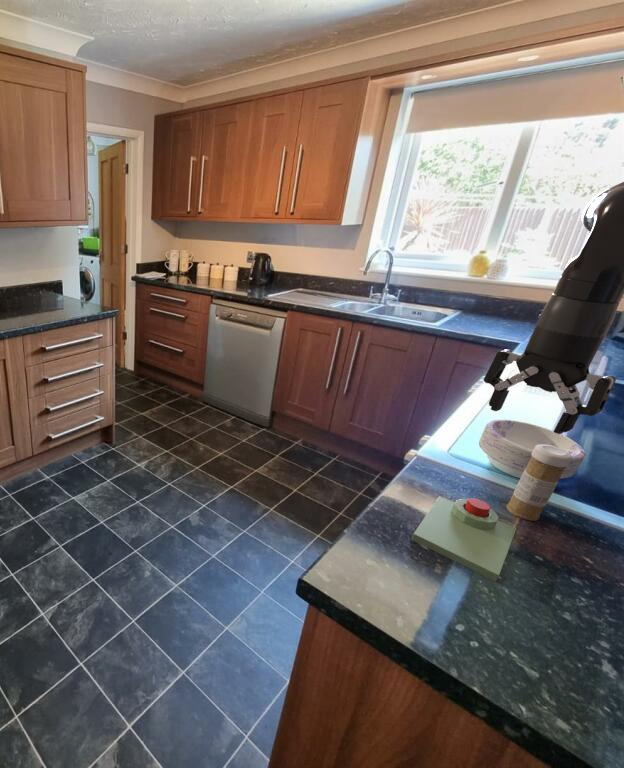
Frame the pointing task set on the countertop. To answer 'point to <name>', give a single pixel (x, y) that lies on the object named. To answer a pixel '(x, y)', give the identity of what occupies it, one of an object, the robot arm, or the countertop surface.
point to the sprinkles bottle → (538, 481)
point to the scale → (466, 536)
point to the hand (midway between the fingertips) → (525, 420)
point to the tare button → (477, 507)
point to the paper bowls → (524, 446)
